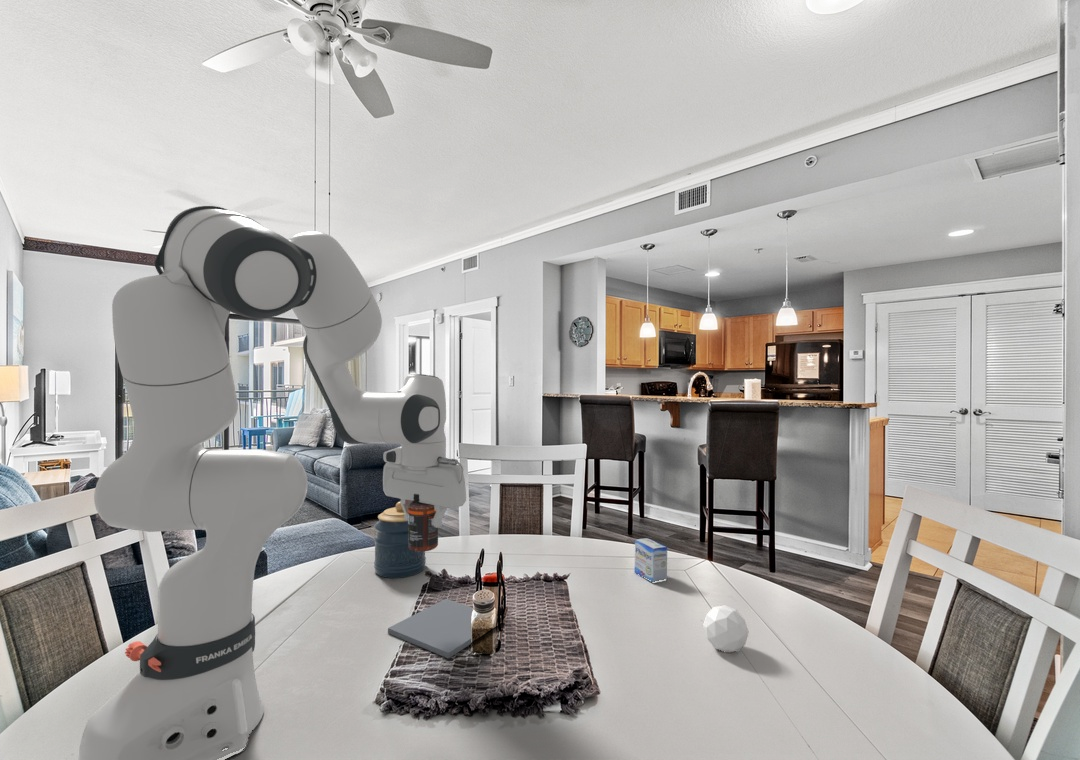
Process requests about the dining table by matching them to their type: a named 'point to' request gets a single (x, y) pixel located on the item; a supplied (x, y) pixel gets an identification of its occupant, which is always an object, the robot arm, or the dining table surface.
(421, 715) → the dining table surface
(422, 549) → the supplement bottle
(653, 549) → the medicine box
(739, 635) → the geometric ball
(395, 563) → the canister
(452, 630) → the mat
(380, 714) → the dining table surface
